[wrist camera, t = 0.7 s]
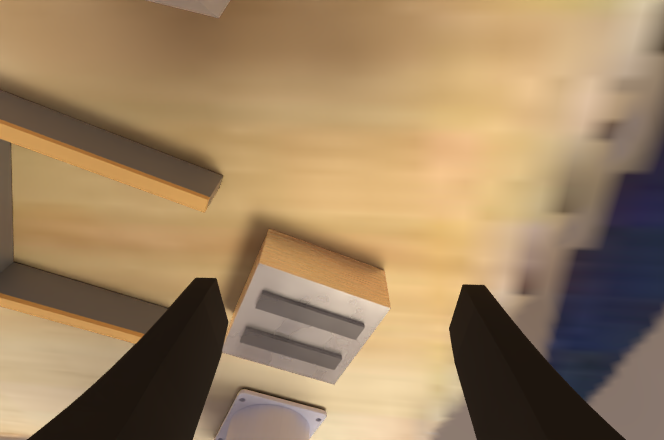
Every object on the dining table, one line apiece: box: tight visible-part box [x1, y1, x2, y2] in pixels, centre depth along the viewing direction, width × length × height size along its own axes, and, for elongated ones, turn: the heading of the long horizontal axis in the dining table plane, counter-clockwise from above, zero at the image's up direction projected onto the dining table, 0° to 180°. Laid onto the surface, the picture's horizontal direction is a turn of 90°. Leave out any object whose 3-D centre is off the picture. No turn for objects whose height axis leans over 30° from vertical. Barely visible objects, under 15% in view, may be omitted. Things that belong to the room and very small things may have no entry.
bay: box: [0, 90, 223, 344], centre depth 21 cm, size 13×12×3 cm
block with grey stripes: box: [222, 228, 391, 384], centre depth 24 cm, size 8×8×4 cm
